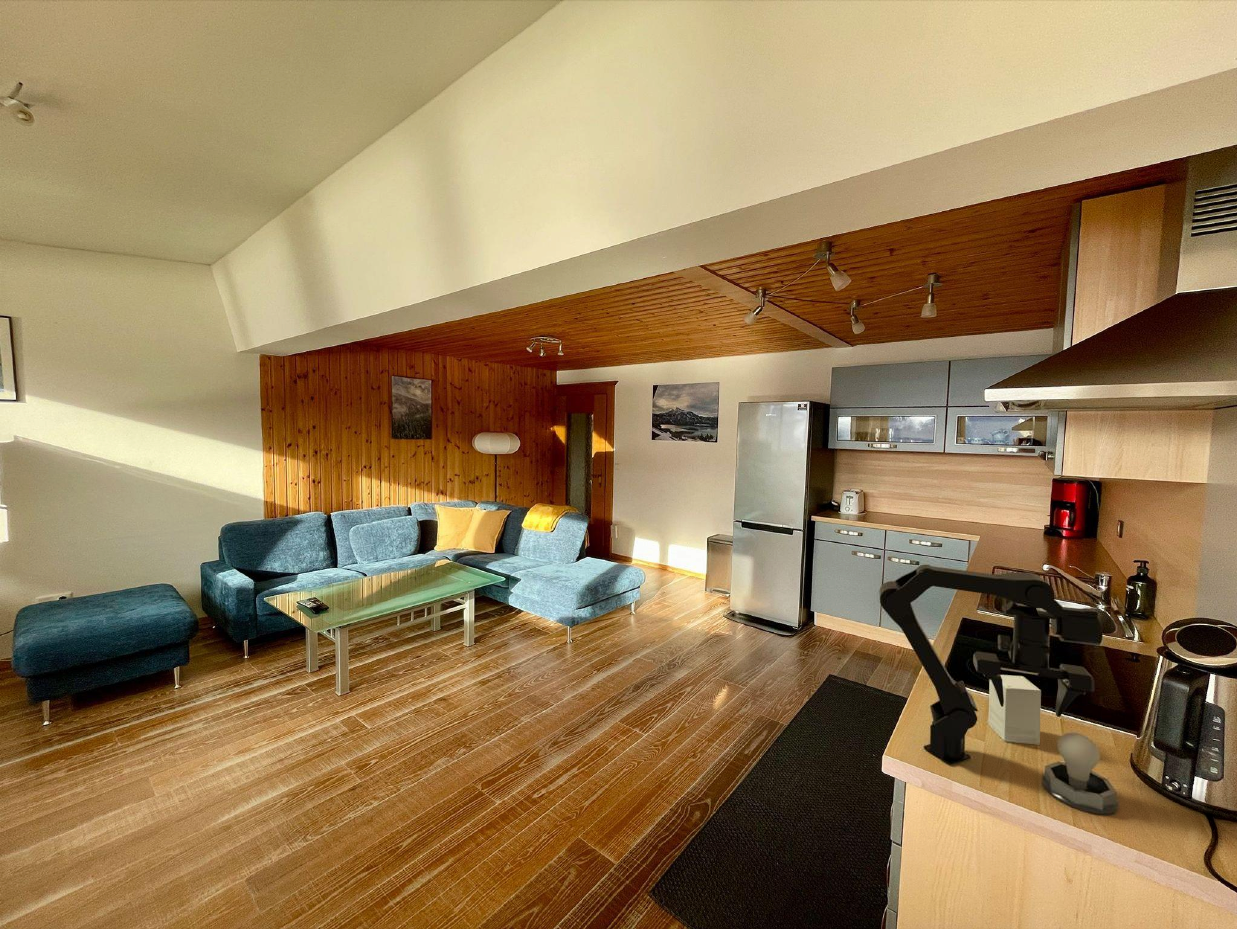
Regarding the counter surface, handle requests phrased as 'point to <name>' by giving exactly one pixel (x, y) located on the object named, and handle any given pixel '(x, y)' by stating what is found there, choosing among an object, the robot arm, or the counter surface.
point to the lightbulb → (1078, 758)
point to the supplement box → (1016, 710)
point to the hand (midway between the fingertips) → (1029, 710)
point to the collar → (1080, 791)
